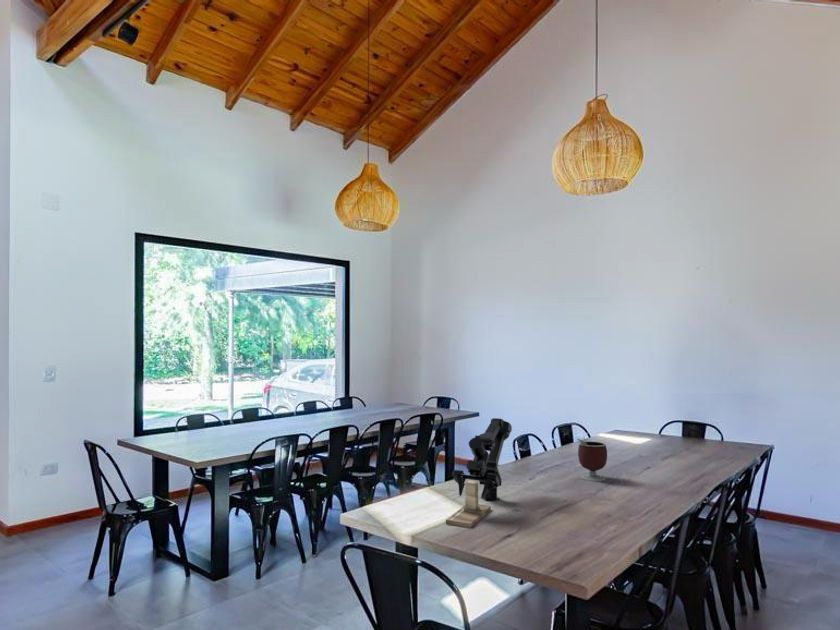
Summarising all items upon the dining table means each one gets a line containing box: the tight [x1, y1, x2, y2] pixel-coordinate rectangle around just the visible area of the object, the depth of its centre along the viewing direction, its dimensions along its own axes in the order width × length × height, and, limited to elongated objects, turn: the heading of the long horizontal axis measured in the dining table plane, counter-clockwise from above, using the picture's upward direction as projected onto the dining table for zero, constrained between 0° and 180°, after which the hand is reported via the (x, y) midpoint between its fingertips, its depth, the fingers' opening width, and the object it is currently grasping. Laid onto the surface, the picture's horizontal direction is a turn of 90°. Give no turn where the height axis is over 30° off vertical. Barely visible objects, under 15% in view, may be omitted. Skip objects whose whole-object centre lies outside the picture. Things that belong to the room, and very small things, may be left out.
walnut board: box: [445, 503, 492, 528], centre depth 222 cm, size 24×10×2 cm, turn 155°
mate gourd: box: [576, 438, 608, 482], centre depth 282 cm, size 16×14×20 cm
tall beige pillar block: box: [464, 480, 480, 513], centre depth 225 cm, size 5×5×11 cm
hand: (470, 496), depth 224 cm, fingers open, 9 cm apart
